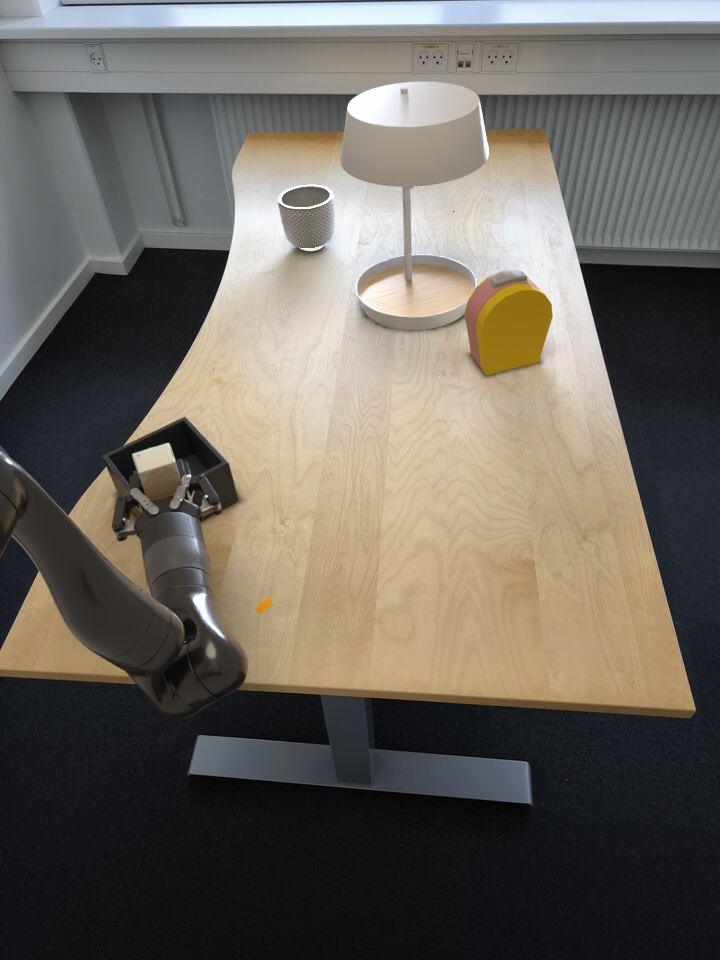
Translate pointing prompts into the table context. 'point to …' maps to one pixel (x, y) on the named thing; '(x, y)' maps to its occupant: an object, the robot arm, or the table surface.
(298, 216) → the planter
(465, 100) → the lamp
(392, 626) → the table surface
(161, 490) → the box
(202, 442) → the bin
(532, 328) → the alarm clock
